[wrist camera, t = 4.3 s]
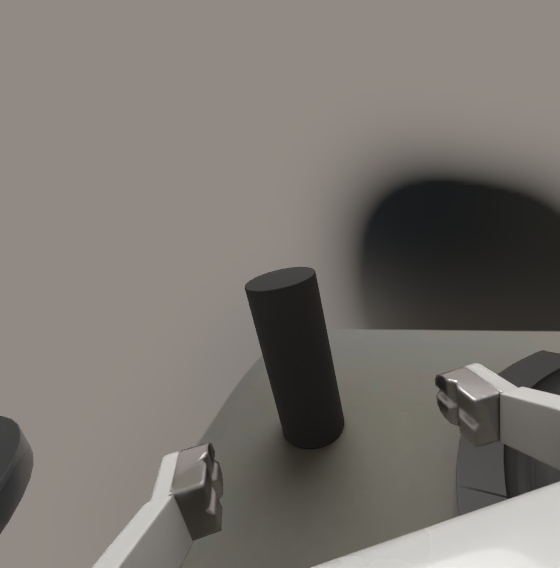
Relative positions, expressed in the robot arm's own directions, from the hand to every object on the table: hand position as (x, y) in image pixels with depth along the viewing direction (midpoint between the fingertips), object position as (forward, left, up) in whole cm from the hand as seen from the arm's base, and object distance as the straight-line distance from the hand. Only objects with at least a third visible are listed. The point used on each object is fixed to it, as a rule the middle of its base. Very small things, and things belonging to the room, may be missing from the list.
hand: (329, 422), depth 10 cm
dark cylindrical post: (+1, +7, -6) cm, 10 cm away
